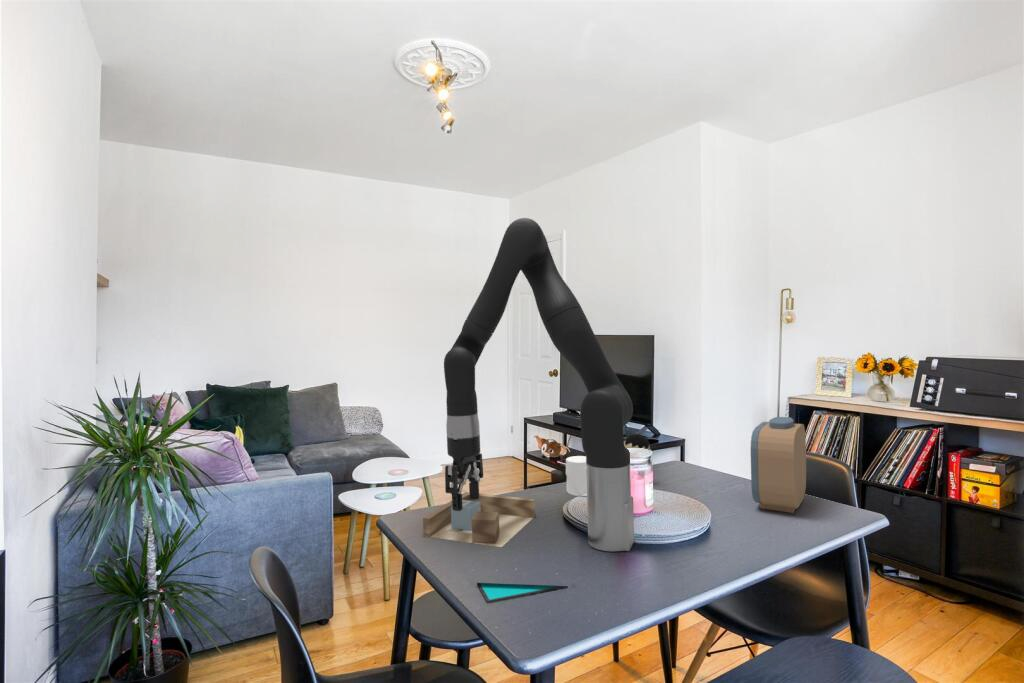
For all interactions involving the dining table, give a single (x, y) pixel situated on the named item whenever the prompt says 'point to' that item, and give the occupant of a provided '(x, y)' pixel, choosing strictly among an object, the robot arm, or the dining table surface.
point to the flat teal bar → (512, 590)
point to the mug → (576, 475)
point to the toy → (637, 442)
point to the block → (464, 515)
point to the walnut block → (485, 527)
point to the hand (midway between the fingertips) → (466, 504)
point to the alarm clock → (778, 464)
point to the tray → (510, 511)
